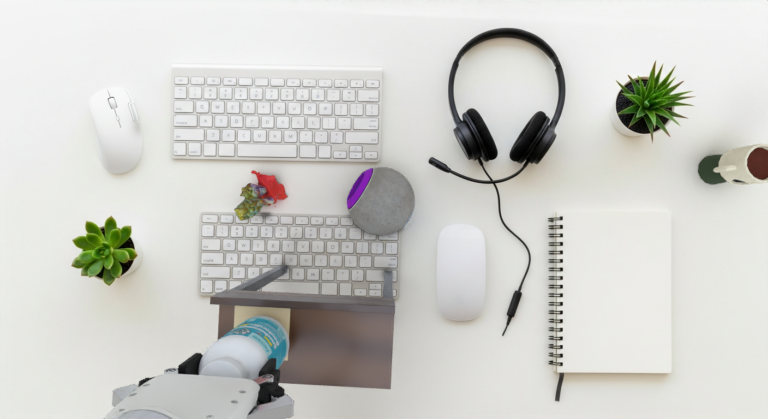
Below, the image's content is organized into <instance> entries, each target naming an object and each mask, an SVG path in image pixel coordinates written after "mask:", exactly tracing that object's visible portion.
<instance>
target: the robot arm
mask: <svg viewBox="0 0 768 419" xmlns="http://www.w3.org/2000/svg"><path fill="white" fill-rule="evenodd" d="M202 356H203V354H202V352H195V353H193V354H192V355H191V356H190V357H188V358H187V359H185V360H184V361H182V362H181V363H180V364H178V366H177V367H170V368H166V369H164V370H163V374H159V375H157V376H152V377H144V378H142V379H141V380H139V381H138V384H136V383H132V384H129V385H125V386H121V387H118V388H114V389H113V390H112V396H111V406H112V407H113V408H112V409H111V410H110V411H109V412H108V413H107V414H106V415H105V416H104V417H103V419H290V418H292V417H294V415H295V414H294V413H295V411H294V410H295V400H294V399H293V398H292V397H291V396H290V395H289V394H286V392H285V391H286V389H285V388H284V387H282V386H281V385H279V384H280V383H279V381H280V370H279V369H276V358H271V359H269V360H268V361H267V362H266V364H265V365H264V366H263V367H262V368H261V370H260V371H259V376H258V378H255V379H253V380H249V379H243V378H232V377H219V376H205V375H198V371H199V364H200V361H201V358H202Z"/></svg>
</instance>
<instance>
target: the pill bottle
mask: <svg viewBox="0 0 768 419" xmlns="http://www.w3.org/2000/svg"><path fill="white" fill-rule="evenodd" d="M288 351H289V337H288V333H287V331H286V329H285V328H284V326H283V325H282V324H281V323H280V322H279V321H278V320H276V319H274V318H272V317H269V316H262V315H260V316H254V317H251V318H248V319H246V320H245V321H243V322H242V323H241V324H239V325H238V326H236V327H235V328H234V329H232V330H231V331H230V332H228V333H227V334H225V335H224V336H223V337H221V338H220V339H219V340H218V339H217V340H216V341H214V342H213V343H212V344H210V345H209V346H208V347H207V349H206V350H205V351H204V353H203V354H202V355H203V356H202V358H201V361H200V364H199V371H198V375H205V376H219V377H232V378H243V379H249V380H253V379H255V378H258V376H259V371H260V370H261V368H262V367H263V366H264V365H265V364H266V362H267V361H268V360H269V359H271V358H276V369H278V368H279V367H280V366H281V364H282V363H283V361H284V360H285V358H286V356H287V354H288Z"/></svg>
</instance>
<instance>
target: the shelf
mask: <svg viewBox="0 0 768 419" xmlns="http://www.w3.org/2000/svg"><path fill="white" fill-rule="evenodd" d="M209 298H210V299H209V305H216V306H218V324H217V325H218V326H217V340H219V339H220V338H221V337H223V336H224V335H225V334H227V333H228V332H230V331H231V330H232V329H234V328H235V327H236V326H238V325H239V324H241V323H242V322H243V321H245V320H246V319H248V318H251V317H254V316H260V315H262V316H269V317H272V318H274V319H276V320H278V321H279V322H280V323H281V324H282V325H283V326H284V328H285V329H286V331H287V333H288V337H289V351H288V354H287V356H286V358H285V360H284V361H283V363H282V364H281V366H280V367H279V368H278V369H279V370H280V381H279V384H286V385H287V384H288V385H307V386H324V387H343V388H360V389H377V390H378V389H379V390H391V389H392V372H393V371H392V369H393V350H394V330H395V329H394V328H395V314H396V298H395V297H393V298H382V296H381V297H380V296H379V297H378V296H357V295H340V294H321V293H320V294H319V293H304V292H285V291H284V292H283V291H267V290H266V291H265V290H257V291H246V290H230V289H224V290H222V291H220V292H217V293H216V294H213V295H211V296H210V297H209Z"/></svg>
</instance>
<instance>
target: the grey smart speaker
mask: <svg viewBox="0 0 768 419" xmlns="http://www.w3.org/2000/svg"><path fill="white" fill-rule="evenodd" d="M347 194H348V195H347V197H346V208H347V211H348V214H349V216H350V218H351V221H353V222H354V224H355V225H356V226H357V227H358V228H359V229H361V230H362V231H364V232H366V233H368V234H371V235H375V236H385V235H390V234H395V233H396V232H398V231H400V230H401V229H403V228H404V227H405V226H406V225H407V224H408V223H409V221H410V219H412V216H413V213H414V211H415V207H416V198H415V197H416V196H415V191H414V189H413V187H412V185H411V182H410V181H409V180H408V179H407V177H406V176H405V175H404V174H402V173H401V172H399V171H398V170H396V169H393V168H390V167H385V166H377V167H369V168H368V169H366V170H364V171H362V173H360V175H359V176H358V177H357V179H356V180H355V182H354V183H353V184H352V187H351V188H350V190H349V193H347Z"/></svg>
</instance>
